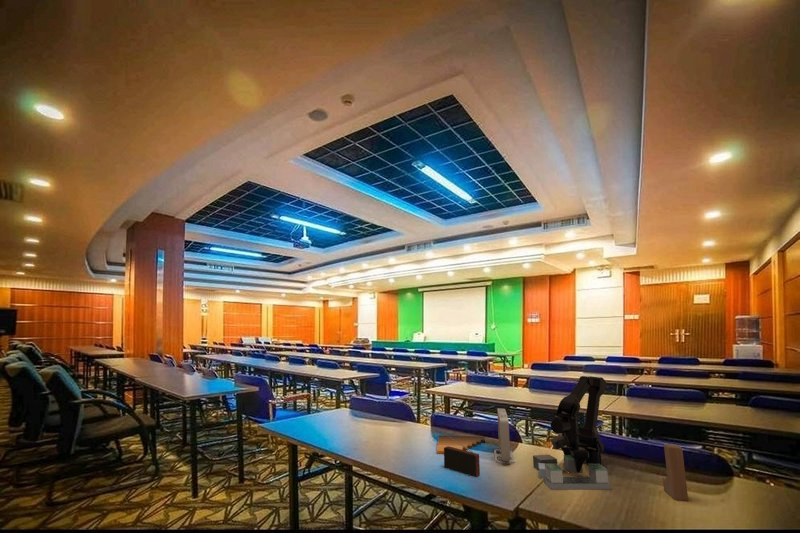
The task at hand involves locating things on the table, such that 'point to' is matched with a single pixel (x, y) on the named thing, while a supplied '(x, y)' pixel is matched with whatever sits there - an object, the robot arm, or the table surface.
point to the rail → (577, 478)
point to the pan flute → (463, 440)
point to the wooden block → (675, 473)
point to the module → (570, 464)
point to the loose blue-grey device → (541, 470)
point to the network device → (503, 439)
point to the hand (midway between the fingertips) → (573, 468)
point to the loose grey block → (543, 460)
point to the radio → (461, 460)
